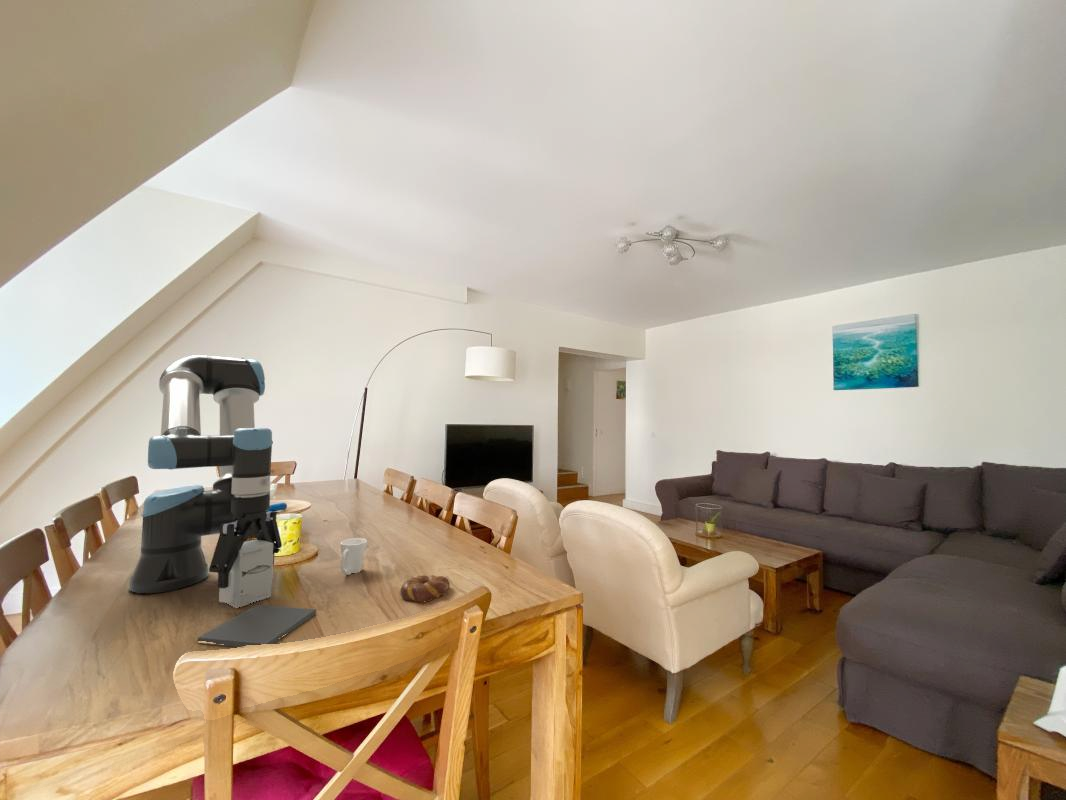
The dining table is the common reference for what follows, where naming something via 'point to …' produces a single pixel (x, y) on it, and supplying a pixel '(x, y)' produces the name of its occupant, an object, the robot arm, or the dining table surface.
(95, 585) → the dining table surface
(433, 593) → the pretzel
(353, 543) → the cup
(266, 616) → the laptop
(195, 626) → the dining table surface
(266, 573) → the supplement box
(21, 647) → the dining table surface
